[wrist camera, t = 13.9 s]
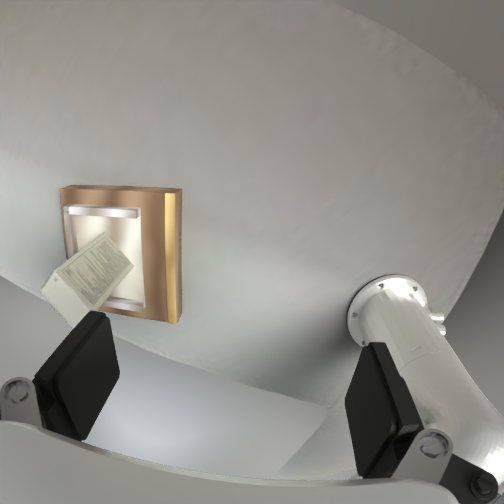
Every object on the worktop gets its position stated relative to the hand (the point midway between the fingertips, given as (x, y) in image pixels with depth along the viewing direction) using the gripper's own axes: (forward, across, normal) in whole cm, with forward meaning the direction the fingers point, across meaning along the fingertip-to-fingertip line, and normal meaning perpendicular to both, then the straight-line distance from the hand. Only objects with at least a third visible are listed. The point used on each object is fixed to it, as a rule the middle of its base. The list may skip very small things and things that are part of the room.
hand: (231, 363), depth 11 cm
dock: (+30, +18, +9) cm, 37 cm away
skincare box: (+27, +19, +9) cm, 34 cm away
